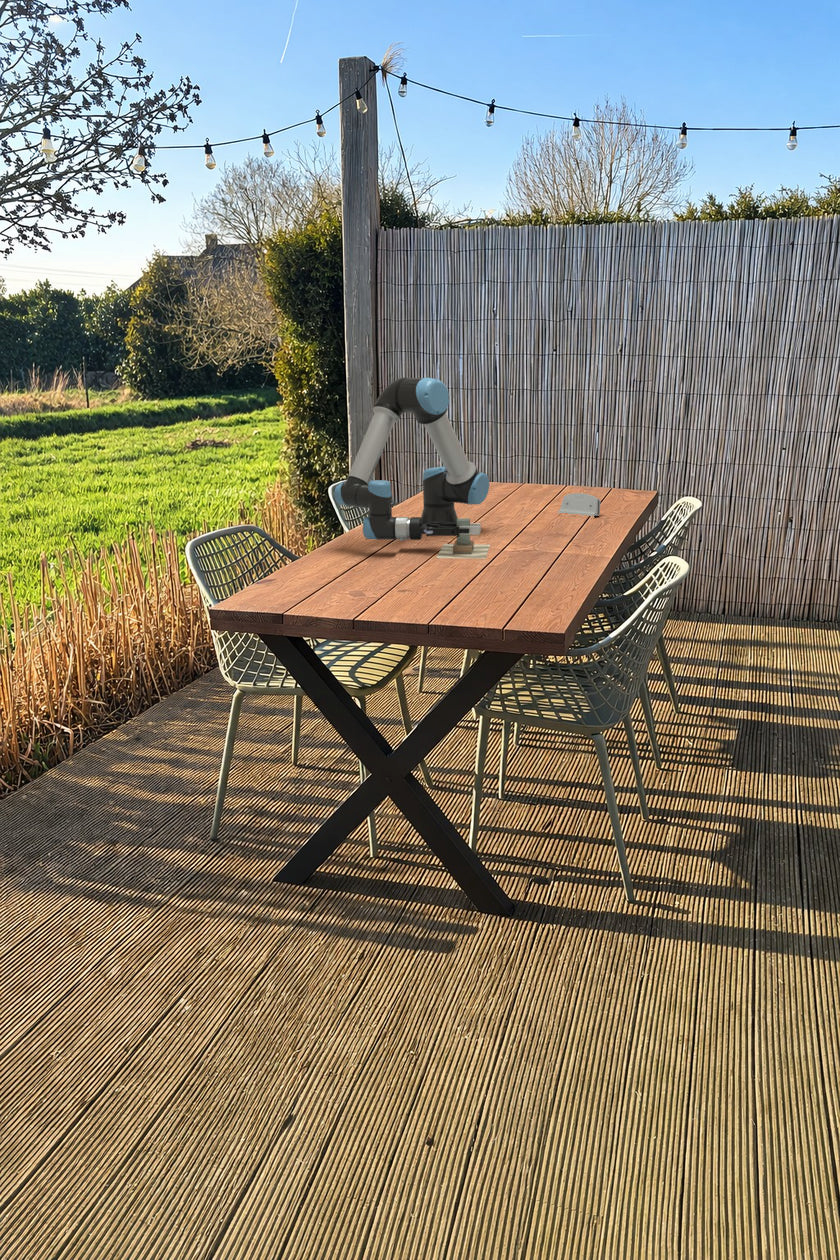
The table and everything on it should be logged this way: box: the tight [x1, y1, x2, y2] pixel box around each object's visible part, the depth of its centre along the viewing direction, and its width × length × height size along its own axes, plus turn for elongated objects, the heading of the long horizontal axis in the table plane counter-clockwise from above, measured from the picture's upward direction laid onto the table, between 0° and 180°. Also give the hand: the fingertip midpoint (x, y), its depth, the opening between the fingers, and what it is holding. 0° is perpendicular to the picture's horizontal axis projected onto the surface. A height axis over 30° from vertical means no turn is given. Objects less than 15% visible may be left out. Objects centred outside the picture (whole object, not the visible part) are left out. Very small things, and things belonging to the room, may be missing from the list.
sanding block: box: [453, 517, 475, 554], centre depth 323 cm, size 10×6×11 cm, turn 172°
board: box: [435, 543, 491, 560], centre depth 324 cm, size 22×16×2 cm
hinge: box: [557, 492, 601, 516], centre depth 392 cm, size 17×5×10 cm, turn 54°
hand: (479, 529), depth 321 cm, fingers open, 4 cm apart
